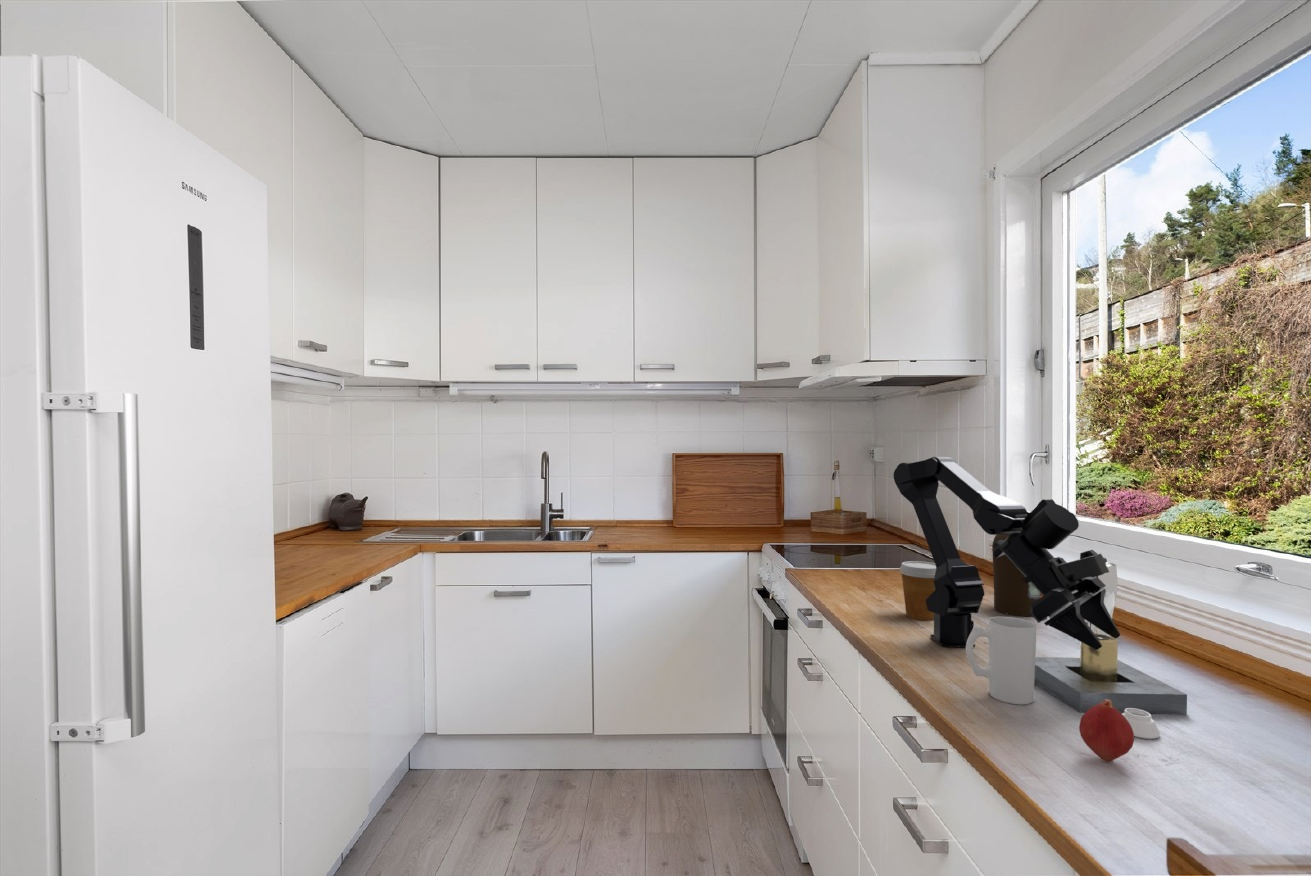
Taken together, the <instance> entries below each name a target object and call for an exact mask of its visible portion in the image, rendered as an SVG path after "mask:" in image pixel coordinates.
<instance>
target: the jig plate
mask: <svg viewBox="0 0 1311 876" xmlns="http://www.w3.org/2000/svg"><path fill="white" fill-rule="evenodd" d="M1080 658H1081V657H1055V656H1051V657H1050V656H1049V657H1048V656H1047V657H1046V656H1035V680H1034V684H1037V685H1038V686H1040V687H1041V688H1043V689H1044V690H1046V691H1047V692H1049V693H1051V694H1052V695H1053V696H1054V697H1057V699H1059V700H1061V701H1063V702H1064V703H1065V704H1067V705H1068V706H1070V707H1071V708H1072V709H1074V710H1076V712H1078V713H1086V712H1087V711H1088V710H1089V709H1090V708H1091V707H1093V706H1095V705H1098V704H1100V703H1103V702H1104V700H1105V699H1106V700H1110V701H1112V706H1113V707H1114V708H1115V709H1116V710H1118V711H1119V712H1120V713H1121V714H1122V713H1124V710H1125V709H1126V708H1135V709H1140V710H1143V711H1146V712H1148V713H1150V714H1152V715H1153V714H1154V715H1156V714H1157V715H1188V714H1187V713H1188V694H1187V693H1184V692H1183V691H1181V690H1179V689H1177V688H1175V687H1174V686H1173V687H1172V686H1171V685H1169V684H1166V683H1165V682H1162V681H1161V680H1159V679H1157V678H1154V677H1153V676H1150V674H1147V673H1145V672H1143V671H1141V670H1139V669H1138V668H1135V667H1133V666H1131V665H1129V664H1127V663H1125V662H1124V661H1121V660H1120V659H1117V682H1090V681H1088V680H1087V679H1085V678H1083V677H1082V676H1080Z"/></svg>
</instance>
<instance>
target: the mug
mask: <svg viewBox="0 0 1311 876" xmlns="http://www.w3.org/2000/svg"><path fill="white" fill-rule="evenodd" d="M980 637H985V638H987V639H988V666H986V667H985V666H980V665H979V663H978V662H977V660H976V659H975V654H974V647H973V645H974V644H975V642H976V641H977V640H978V639H979V638H980ZM1036 646H1037V624H1036V623H1035V622H1033V621H1031V620H1028V619H1023V618H1018V617H1013V616H993V617H989V618H988V628H983V627H982V626H979V625H975V624H974V626H973V630H972V632H971V633H970V635H969V637H968V639H967V643H966V647H965V652H966V656H967V661H968V663H969V664H970V665H969V666H970V667H971V670H972V672H973V674H974V676H976V677H983V678H986V679H988V692H989V695H990V696H991V697H992V698H994V699H996V700H998V701H1000V702H1004V703H1007V704H1012V705H1030V704H1032V703H1033V702H1034V697H1035V695H1034V694H1035V693H1034V691H1035V682H1034V680H1035V657H1036V652H1037V651H1036V650H1037V649H1036V648H1037V647H1036Z"/></svg>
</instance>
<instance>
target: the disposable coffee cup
mask: <svg viewBox="0 0 1311 876" xmlns="http://www.w3.org/2000/svg"><path fill="white" fill-rule="evenodd" d="M899 571H900V573H901V579H902V588H903V597H904V605H905V607H904V608H905V614H906V615H905V616H906V617H908V618H910V619H914V620H919V621H934V613H933V612H931V611H928V609H927V605H926V599H927V598H928V597H929V596H930V595H931V594H932V593H933V592H934V591H935V590H936V589H935V585H934V577H935V572H936V565H935V562H928V561H921V560H918V561H917V560H913V561H911V560H910V561H909V560H908V561H903V562H901V566H900V567H899Z"/></svg>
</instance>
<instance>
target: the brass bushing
mask: <svg viewBox="0 0 1311 876" xmlns="http://www.w3.org/2000/svg"><path fill="white" fill-rule="evenodd" d="M1094 634H1095V633H1094ZM1095 635H1096V637H1097V638H1098V640H1099V641H1100V643H1101V644H1102V647H1101V648H1099V649H1098V650H1096V649H1094V648H1092V647H1090V646H1088V645H1086V644H1084V643H1082V642H1081V641H1080V657H1079V658H1080V676H1082V677H1083V678H1085V679H1087V680H1088V681H1090V682H1117V660H1118V654H1119V653H1118V651H1119V649H1118V648H1119V647H1118V646H1119V640H1118V638H1113V637H1110V636H1107V635H1102V634H1095Z"/></svg>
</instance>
